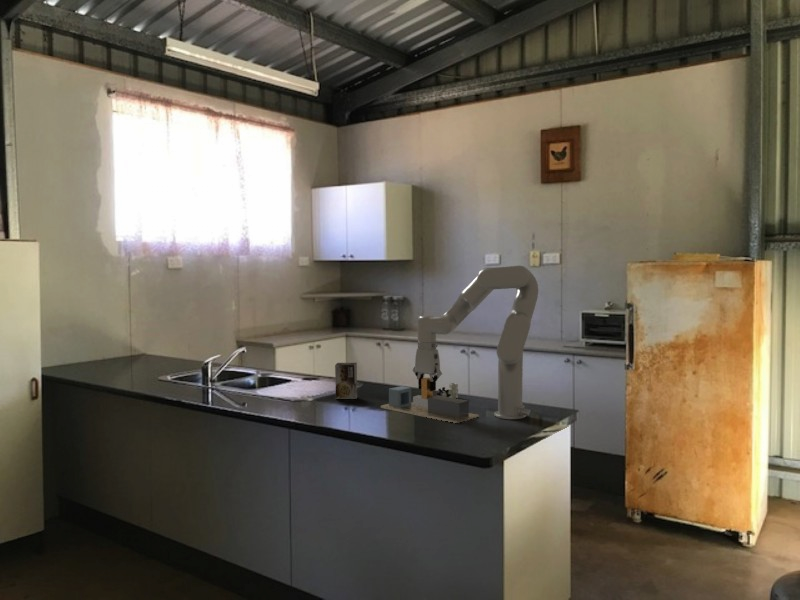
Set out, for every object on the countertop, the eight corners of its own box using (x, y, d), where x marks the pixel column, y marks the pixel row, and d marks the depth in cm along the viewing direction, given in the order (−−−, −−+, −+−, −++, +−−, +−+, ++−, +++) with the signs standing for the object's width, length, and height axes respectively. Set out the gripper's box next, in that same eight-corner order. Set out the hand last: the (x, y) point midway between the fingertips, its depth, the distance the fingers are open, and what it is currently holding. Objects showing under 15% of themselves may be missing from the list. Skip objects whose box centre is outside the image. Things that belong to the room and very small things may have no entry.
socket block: (411, 403, 274) (411, 387, 274) (398, 407, 269) (398, 390, 268) (401, 402, 278) (401, 386, 278) (389, 405, 272) (388, 388, 272)
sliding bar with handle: (463, 413, 253) (463, 382, 252) (456, 414, 250) (456, 384, 249) (419, 404, 268) (419, 376, 268) (413, 406, 265) (412, 377, 265)
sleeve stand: (478, 417, 254) (478, 399, 253) (456, 423, 243) (456, 405, 243) (403, 402, 282) (403, 386, 281) (380, 407, 272) (380, 391, 271)
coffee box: (357, 397, 294) (357, 362, 293) (355, 400, 287) (354, 364, 286) (338, 397, 294) (337, 362, 294) (335, 400, 288) (334, 364, 287)
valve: (449, 396, 294) (436, 401, 284) (449, 382, 294) (436, 386, 284) (462, 398, 291) (449, 403, 281) (462, 383, 290) (449, 388, 280)
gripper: (449, 346, 258) (449, 391, 259) (417, 343, 270) (417, 385, 271) (437, 348, 253) (437, 394, 254) (405, 345, 265) (405, 388, 266)
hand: (427, 389), depth 262 cm, fingers open, 5 cm apart
